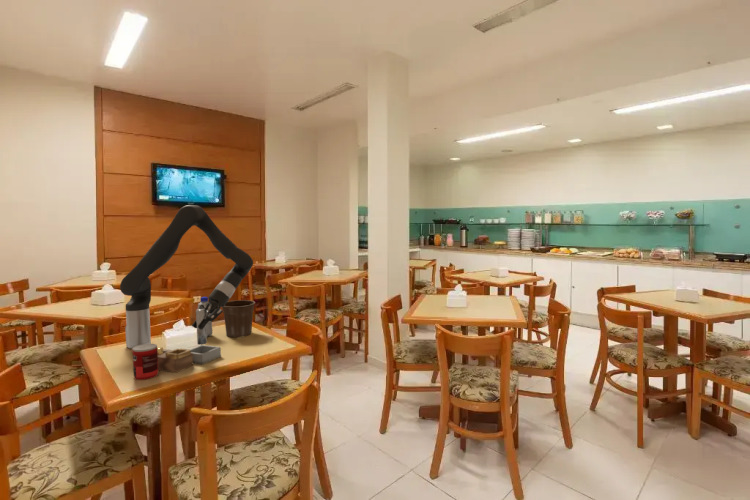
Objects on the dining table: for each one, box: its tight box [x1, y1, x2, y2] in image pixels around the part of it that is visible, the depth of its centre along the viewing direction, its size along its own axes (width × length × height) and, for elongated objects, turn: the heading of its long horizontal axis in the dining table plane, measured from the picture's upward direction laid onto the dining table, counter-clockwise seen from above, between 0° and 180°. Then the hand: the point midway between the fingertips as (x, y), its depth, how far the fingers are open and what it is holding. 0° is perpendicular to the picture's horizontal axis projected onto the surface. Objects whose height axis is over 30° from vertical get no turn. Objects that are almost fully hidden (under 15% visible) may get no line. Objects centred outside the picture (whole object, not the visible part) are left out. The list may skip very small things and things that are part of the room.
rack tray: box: [190, 344, 222, 365], centre depth 159 cm, size 10×10×4 cm
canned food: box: [132, 343, 159, 381], centre depth 142 cm, size 8×8×11 cm
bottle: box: [197, 296, 213, 338], centre depth 192 cm, size 7×7×20 cm
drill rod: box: [195, 308, 208, 346], centre depth 159 cm, size 4×4×14 cm
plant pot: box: [221, 299, 256, 338], centre depth 195 cm, size 16×16×16 cm
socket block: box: [158, 348, 194, 374], centre depth 151 cm, size 16×8×6 cm, turn 70°
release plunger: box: [157, 347, 164, 355], centre depth 153 cm, size 3×3×6 cm
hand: (196, 327), depth 157 cm, fingers closed on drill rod, 3 cm apart
